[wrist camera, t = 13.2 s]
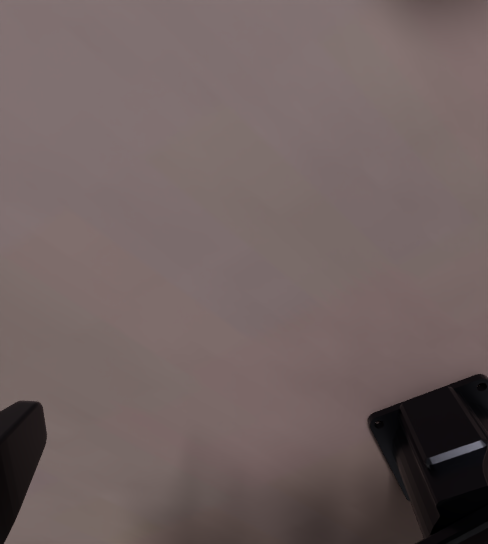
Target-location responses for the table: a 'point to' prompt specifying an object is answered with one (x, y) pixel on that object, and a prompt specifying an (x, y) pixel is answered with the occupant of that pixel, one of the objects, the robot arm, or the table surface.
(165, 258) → the table surface
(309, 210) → the table surface
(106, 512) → the table surface
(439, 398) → the robot arm
